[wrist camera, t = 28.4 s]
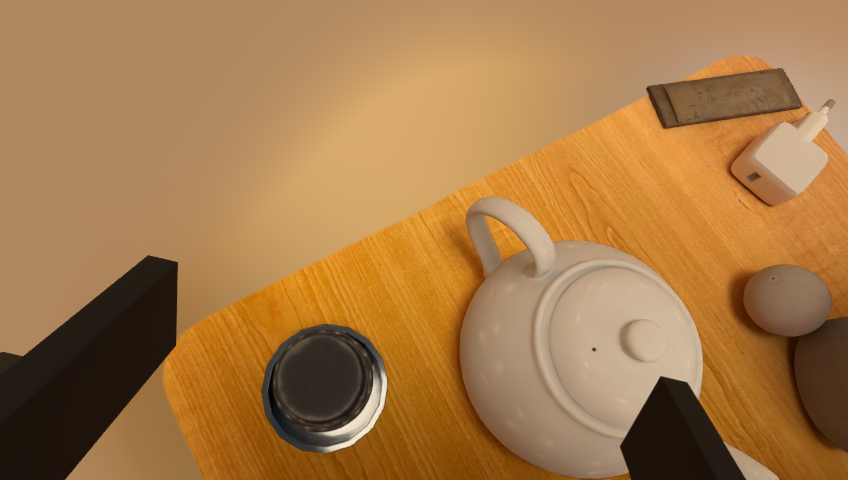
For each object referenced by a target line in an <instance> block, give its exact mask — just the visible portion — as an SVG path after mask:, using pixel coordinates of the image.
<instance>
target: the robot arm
mask: <svg viewBox="0 0 848 480" xmlns="http://www.w3.org/2000/svg"><path fill="white" fill-rule="evenodd" d="M177 271H178V262H175V261H170V260H166V259H162V258H158V257H153V256H149V255H148V256H147V257H145V258H144V259H143V260H142V261H140V262H139V263H138V264H137V265H136V266H134V267H133V268H132V269H131V270H129V271H128V272H127V273H126V274H124V275H123V276H122V277H121V278H119V279H118V280H117V281H116V282H114V283H113V284H112V285H111V286H110V287H108V288H107V289H106V290H105V291H104V292H102V293H101V294H100V295H98V296H97V297H96V298H95V299H94V300H92V301H91V302H90V303H89V304H87V305H86V306H85V307H84V308H82V309H81V310H80V311H79V312H78V313H76V314H75V315H74V316H73V317H71V318H70V319H69V320H68V321H66V322H65V323H64V324H63V325H62V326H60V327H59V328H58V329H57V330H55V331H54V332H53V333H51V334H50V335H49V336H48V337H46V338H45V339H44V340H43V341H42V342H40V343H39V344H38V345H37V346H35V347H34V348H33V349H32V350H30V351H29V352H28V353H27V354H26V355H24V356H19V355H14V354H10V353H6V352H1V353H0V480H65V479H66V478H67V476H68V475H69V474H70V473H71V472H72V471H73V469H74V468H75V467H76V465H78V463H79V462H80V461H81V460H82V458H83V457H84V456H85V455H86V454H87V452H88V451H89V450H90V449H91V448H92V446H93V445H94V444H95V443H96V442H97V440H98V439H99V438H100V437H101V436H102V434H103V433H104V432H105V431H106V429H107V428H108V427H109V426H110V425H111V423H112V422H113V421H114V420H115V419H116V417H117V416H118V415H119V414H120V412H121V411H122V410H123V409H124V408H125V407H126V405H127V404H128V403H129V402H130V401H131V399H132V398H133V397H134V396H135V394H136V393H137V392H138V391H139V390H140V388H141V387H142V386H143V384H145V382H146V381H147V380H148V379H149V378H150V376H151V375H152V374H153V373H154V371H155V370H156V369H157V368H158V367H159V365H160V364H161V363H162V362H163V361H164V359H165V358H166V357H167V356H168V355H169V353H170V352H171V351H172V350H173V349H174V347H175V346H176V324H177V323H176V319H177ZM620 449H621V452H622V455H623V457H624V460H625V463H626V466H627V468H628V471H629V474H630V477H631V479H632V480H746V478H745V477H744V475H743V473H742V472H741V470H740V468H739V467H738V465H737V463H736V462H735V460H734V458H733V457H732V455H731V453H730V452H729V450H728V448H727V447H726V445H725V444H724V442H723V440H722V439H721V437H720V435H719V434H718V432H717V430H716V429H715V427H714V425H713V424H712V422H711V420H710V419H709V417H708V415H707V414H706V412H705V410H704V409H703V407H702V405H701V404H700V402H699V400H698V399H697V397H696V395H695V394H694V392H693V391H692V389H691V387H690V386H689V384H688V382H685V381H680V380H676V379H672V378H668V377H663V376H660V378H659V379H658V381H657V383H656V385H655V386H654V388H653V390H652V392H651V393H650V395H649V397H648V398H647V400H646V402H645V404H644V405H643V407H642V409H641V410H640V412H639V414H638V416H637V417H636V419H635V421H634V423H633V424H632V426H631V428H630V429H629V431H628V433H627V435H626V436H625V438H624V440H623V442H622V443H621V445H620Z"/></svg>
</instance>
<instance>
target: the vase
mask: <svg viewBox="0 0 848 480" xmlns="http://www.w3.org/2000/svg"><path fill="white" fill-rule="evenodd" d="M794 370H795V378H796V383H797V387H798V391H799V394H800V397H801V399H802V402H803V404H804V407H805V409H806V411H807V413H808V415H809V416H810V418H811V419H812V421H813V423H814V424H815V426H816V427H817V428H818V429H819V431H820V432H821V433H822V434H823V435H824V436H825V437H826V438H827V439H828V440H829V441H830V442H831V443H833V444H834V445H836V446H837V447H839V448H840V449H842V450H844V451H846V452H848V317H842V318H837V319H831V320H826V321H825V322H824V323H823V324H822V325H821V326H820V327H819V328H817V329H816V330H814V331H812V332H810V333H808V334H805V335H801V337H800V338H799V340H798V342H797V345H796V349H795V354H794Z"/></svg>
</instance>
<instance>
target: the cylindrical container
mask: <svg viewBox="0 0 848 480" xmlns="http://www.w3.org/2000/svg"><path fill="white" fill-rule="evenodd" d="M321 329H322V330H324V329H327V330H336V331H340V332H343V333H345V334H347V335H349V336H351V337H352V338H354V339H355V340H357V341H358V342H359V343H360V344H361V345H362V346H363V347H364V349H365V351H366V352H367V354H368V356H369V358H370V360H371V364H372V368H373V373H374V374H373V376H374V378H373V389H372V393H371V395H370V398H369V400H368V403H367V405H366V406H365V408H364V409H363V411H362V412H361V413H360V414H359V415H358V416H357V417H356V419H354V420H353V421H352V422H350V423H349V424H347V425H346V426H344V427H342V428H339V429H337V430H333V431H329V432H310V431H307V430H304V429H301V428H299V427H298V426H296V425H294V424H293V423H291V422H290V421H289V420H287V418H286V417H285V416H284V415H283V414H282V412H281V411H280V409H279V407H278V406H277V404H276V400H275V398H274V393H273V384H272V383H273V374H274V370H275V367H276V364H277V361H278V360H279V357H280V356H281V354H282V352H283V351H284V350H285V349H286V348H287V346H288V345H289V344H291V343H292V342H293V341H294V340H296V339H297V338H298V337H300V336H302V335H304V334H306V333H307V332H311V331H315V330H321ZM387 387H388V379H387V375H386V371H385V367H384V363H383V359H382V357H381V356H380V354H379V353H378V351H377V350H376V349H375V347H374V346H373V345H372V343H371V342H370V341H369V339H367V338H366V337H364V336H362V335H361V334H359V333H357V332H356V331H354V330H352V329H351V328H349V327H344V326H337V325H329V324H323V325H319V326H315V327H311V328H307V329H303V330H300V331H299V332H298V333H296V334H295V335H293V336H292V337H291V338H289V339H288V340H286V341H285V342H284V343H282V344H281V345H280V347H279V348H278V350H277V351H276V353H275V354H274V356H273V357H272V359H271V360H270V362H269V363H268V365H267V367H266V372H265V376H264V381H263V385H262V391H261V392H262V398H263V404H264V409H265V415H266V417H267V419H268V420H269V422H270V423H271V425H272V426H273V428H274V429H275V431H276V432H277V434H278V435H279V437H280V438H282V439H283V440H285V441H286V442H288V443H290V444H291V445H293V446H295V447H296V448H298V449H299V450H302V451H308V452H317V453H325V454H326V453H331V452H334V451H337V450H341V449H344V448H347V447H350V446H352V445H354V444H355V443H356V442H357V441H359V440H360V439H361V438H362V437H363V436H365V435H366V434H367V433H368V432H370V431H371V430H372V429H373V427H374V425H375V423H376V421H377V420H378V418H379V416H380V414H381V413H382V411H383V409H384V407H385V401H386V394H387Z"/></svg>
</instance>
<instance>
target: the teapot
mask: <svg viewBox="0 0 848 480" xmlns="http://www.w3.org/2000/svg"><path fill="white" fill-rule="evenodd" d="M485 215H488V216H491V217H493V218H495V219H497V220H498V221H500V222H502V223H503V224H504V225H506V226H507V227H509V228H510V229H511V230H512V231H513V232H514V233H515V234H516V235H517V236H518V237H519V238H520V239H521V240H522V241H523V243H524V244H525V246H526V247H527V248H528V249H527V250H525V251H522V252H520V253H518V254H516V255H514V256H513V257H511V258H509V259H508V260H506V261H505V262H504V263H502V261H501V257H500V254H499V251H498V249H497V246H496V244H495V241H494V239H493V237H492V235H491V232H490V230H489V227H488V224H487V221H486V216H485ZM466 225H467V229H468V233H469V235H470V238H471V241H472V243H473V245H474V247H475V249H476V251H477V253H478V255H479V257H480V260H481V262H482V266H483V274H484V277H485V278H486V279H485V280H484V282H483V283H482V284H481V286H480V287H479V288H478V290H477V291H476V293H475V295H474V296H473V298H472V300H471V302H470V304H469V306H468V309H467V311H466V314H465V318H464V321H463V325H462V329H461V336H460V364H461V371H462V377H463V381H464V384H465V388H466V391H467V394H468V396H469V398H470V401H471V403H472V405H473V407H474V409H475V410H476V412H477V414H478V416H479V417H480V419H481V420H482V422H483V423H484V424H485V426H486V427H487V428H488V430H489V431H490V432H491V433H492V434H493V435H494V436H495V437H496V438H497V439H498V441H500V442H501V443H502V444H503V445H504V446H505V447H506V448H508V449H509V450H510V451H512V452H513V453H514V454H516V455H517V456H519V457H520V458H522V459H523V460H525V461H527V462H529V463H530V464H533V465H535V466H537V467H539V468H541V469H544V470H546V471H550V472H553V473H556V474H560V475H563V476H568V477H575V478H584V479H597V478H609V477H614V476H618V475H622V474H626V473H628V472H629V471H628V468H627V466H626V463H625V460H624V457H623V455H622V452H621V449H620V445H621V443H622V442H623V440H624V438H625V436H626V435H627V433H628V431H629V429H630V428H631V426H632V424H633V423H634V421H635V419H636V417H637V416H638V414H639V412H640V410H641V409H642V407H643V405H644V404H645V402H646V400H647V398H648V397H649V395H650V393H651V392H652V390H653V388H654V386H655V385H656V383H657V381H658V379H659V378H660V376H663V377H668V378H672V379H676V380H680V381H685V382H688V384H689V386H690V387H691V389H692V391H693V392H694V394H695V395H696V397H697V399H699V395H700V390H701V384H702V371H703V357H702V348H701V342H700V338H699V335H698V332H697V329H696V326H695V323H694V321H693V319H692V317H691V315H690V313H689V311H688V310H687V308H686V307H685V305H684V304H683V302H682V301H681V299H680V298H679V297H678V296H677V294H676V293H675V292H674V290H673V289H672V288H671V287H670V286H669V285H668V283H667V282H666V281H665V280H664V279H663V278H662V277H661V276H660V275H658V274H657V273H656V272H655V271H654V270H652V269H651V268H650V267H649V266H647V265H646V264H644V263H643V262H641V261H640V260H638V259H636V258H635V257H633V256H631V255H629V254H627V253H625V252H623V251H621V250H618V249H616V248H613V247H610V246H606V245H603V244H599V243H594V242H587V241H556V242H552V240H551V239H550V237H549V235H548V234H547V232H546V231H545V229H544V228H543V227H542V225H541V224H540V223H539V222H538V221H537V220H536V219H535V218H534V216H533V215H532V214H530V213H529V212H528V211H527V210H525V209H524V208H523V207H521V206H519V205H518V204H516V203H514V202H512V201H510V200H507V199H505V198H501V197H485V198H483V199H480V200H479V201H477V202H475V203H474V204H473V205H472V206H471V207H470V208H469V210H468V212H467V215H466ZM723 442H724V441H723ZM724 444H725V445H726V447H727V448H728V450H729V452H730V453H731V455H732V457H733V458H734V460H735V462H736V463H737V465H738V467H739V468H740V470H741V472H742V473H743V475H744V477H745V478H746V480H779V478H778V477H777V476H776V475H775V474H774V473H773V472H771V471H770V470H769V469H768V468H766V467H765V466H763V465H762V464H760V463H759V462H757V461H755V460H754V459H752V458H751V457H749V456H748V455H746V454H745V453H743V452H741V451H739V450H738V449H736V448H734V447H733V446H731V445H729V444H727V443H726V442H724Z"/></svg>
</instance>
